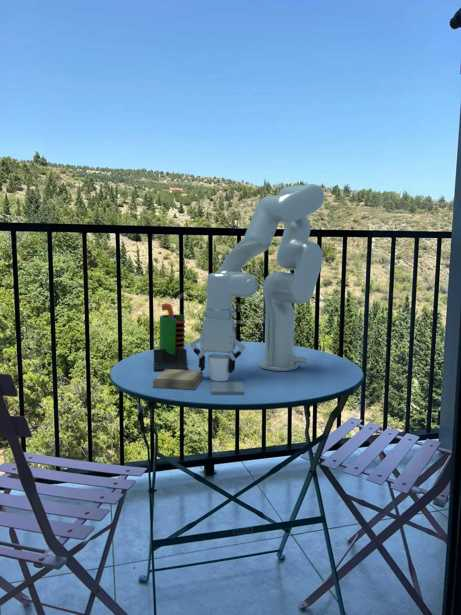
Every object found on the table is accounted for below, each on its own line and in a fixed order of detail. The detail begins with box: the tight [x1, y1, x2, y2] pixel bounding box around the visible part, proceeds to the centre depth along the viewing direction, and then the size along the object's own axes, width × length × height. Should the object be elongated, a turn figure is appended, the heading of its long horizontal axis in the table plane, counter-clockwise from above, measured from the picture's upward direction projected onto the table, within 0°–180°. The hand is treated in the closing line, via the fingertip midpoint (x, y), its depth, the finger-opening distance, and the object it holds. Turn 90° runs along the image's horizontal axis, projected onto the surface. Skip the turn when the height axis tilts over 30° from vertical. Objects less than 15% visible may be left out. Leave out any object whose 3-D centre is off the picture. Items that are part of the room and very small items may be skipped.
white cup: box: [207, 353, 231, 382], centre depth 156 cm, size 7×7×7 cm
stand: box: [152, 369, 204, 391], centre depth 151 cm, size 12×12×2 cm
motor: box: [158, 302, 186, 355], centre depth 176 cm, size 10×9×20 cm
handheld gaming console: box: [153, 348, 189, 373], centre depth 169 cm, size 12×7×10 cm
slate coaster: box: [210, 381, 245, 395], centre depth 145 cm, size 9×9×1 cm
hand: (216, 371), depth 156 cm, fingers open, 8 cm apart
